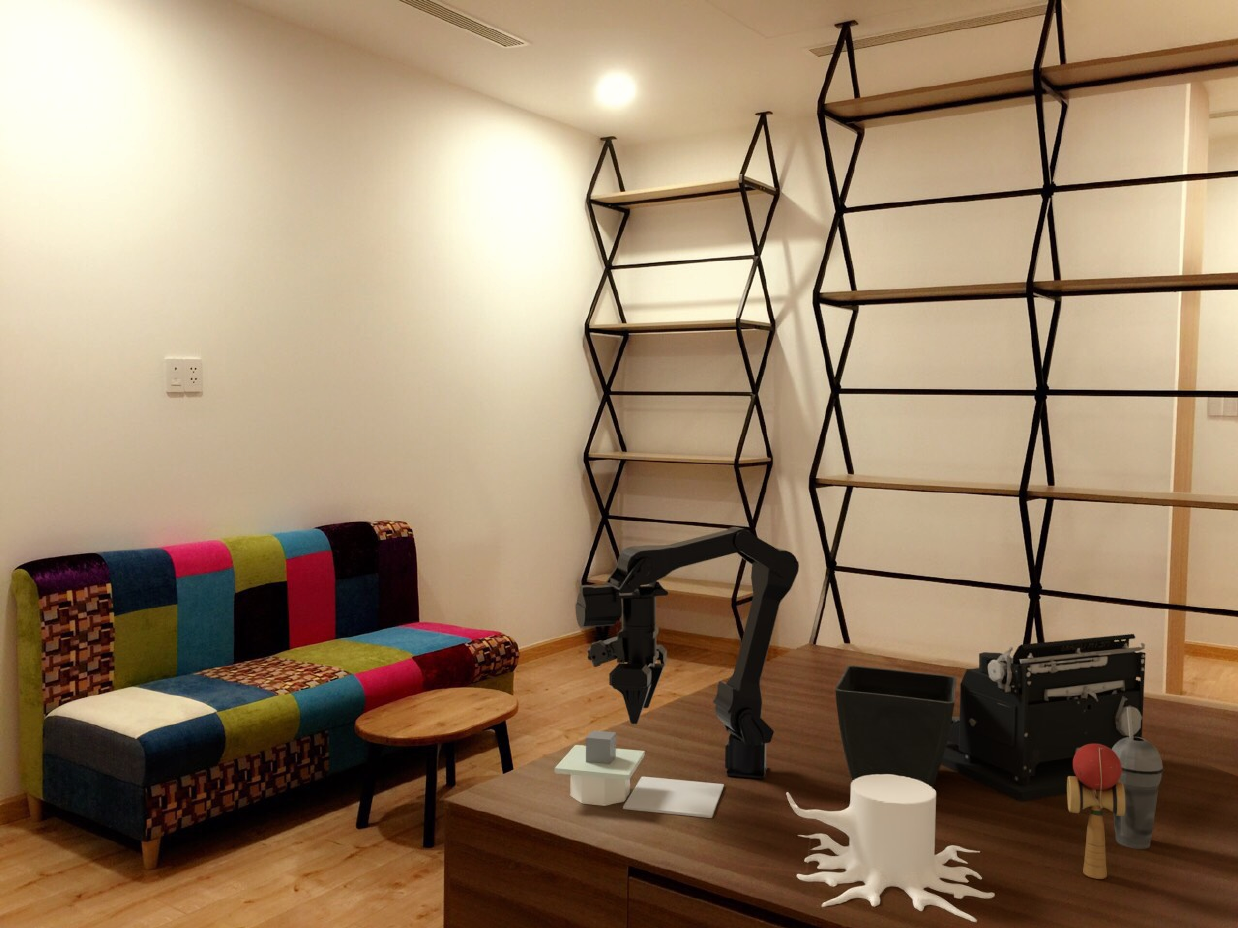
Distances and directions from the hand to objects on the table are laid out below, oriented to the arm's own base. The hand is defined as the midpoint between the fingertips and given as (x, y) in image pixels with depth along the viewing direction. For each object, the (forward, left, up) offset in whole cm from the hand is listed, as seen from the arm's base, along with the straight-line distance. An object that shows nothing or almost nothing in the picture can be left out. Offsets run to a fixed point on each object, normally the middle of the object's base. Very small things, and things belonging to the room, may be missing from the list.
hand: (639, 715), depth 170 cm
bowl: (+5, +7, -12) cm, 14 cm away
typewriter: (-66, -28, -12) cm, 72 cm away
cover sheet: (+5, +7, -7) cm, 11 cm away
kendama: (-67, +18, -12) cm, 70 cm away
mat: (-7, +5, -12) cm, 14 cm away
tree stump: (-40, +22, -12) cm, 47 cm away
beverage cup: (-75, +5, -12) cm, 76 cm away
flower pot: (-42, -14, -12) cm, 46 cm away
